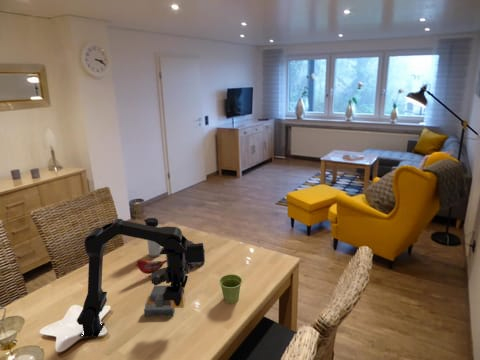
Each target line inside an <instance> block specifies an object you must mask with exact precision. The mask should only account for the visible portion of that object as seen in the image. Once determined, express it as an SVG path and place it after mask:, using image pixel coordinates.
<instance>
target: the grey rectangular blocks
mask: <svg viewBox="0 0 480 360" xmlns="http://www.w3.org/2000/svg"><path fill="white" fill-rule="evenodd" d="M170 285H171V284H169V285H168V284H167V285H153V288H152V290H151V292H150V300H151V302H152V301H153V302H155V300H156V297H157V295H158V294H163V292H164V289H165V288H166V287H167V286H170ZM175 309H176V308H171V306H163V307H156V304H145V306H144V308H143V313H144V314H143V315H144V317H173V316H174V315H175V311H176V310H175Z"/></svg>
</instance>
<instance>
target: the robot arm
mask: <svg viewBox="0 0 480 360" xmlns="http://www.w3.org/2000/svg"><path fill="white" fill-rule="evenodd" d="M118 235H120V236H126V237H131V238H135V239H140V240H146V241H147V240H150V241H153V242H156V243H157V244H159V245H160V246H161V251H160V254H161V255H165V256H166V260H167V262H166V267H165V266H164V267H161V268H160V269H158V270H156V271H154V272H153V274H152V273H151V274H152V276H151V277H150V279H151V280H150V281H151V284H152V285H153V286H159V285H161V284H162V283H165V284H169V285H170V286H167V285H166V286H167V287H166V288H165V289H164V292H163V300H164V301H168V300H173V301H174V303H175V305H176V306H179V305H180V302H181V299H182V296H183V293H184V290H183V288H182V287H186V285H187V282H188V278H189V276H188V275H189V273H190V269H191V268H189V265H188V264H189V263H196V264H198V263H203V264H204V263H205V262H206V261H205V260H206V258H205V255H206V253H205V251H206V250H205V247H204V243H203V242H198V243H194V244H188V241H189V240H188V239H187V238H186V237H185V236H184V235H183V232H182V230H181V229H180V228H179V227H177V226H169V225H168V226H161V227H160V226H159V227H152V226H148V225H146V224H142V223H137V222H132V221H128V220H124V219H122V218H118V219H117V218H116V219H115V220H114V221H111V222H108V223H106V224H105V225H102V226H101V227H94V228H93V229H92V230H91V231H90V233H89V234H88V235H87V236H86V237H85V239H84V240H83V241H84V242H83V243H84V251H85V253H86V254H87V257H88V270H87V271H88V273H87V274H88V275H87V294H86V297H85V300H84V302H83V307H82V309H81V312H80V314H79V315H78V317H77V318H76V322H77V324H78V325H80V326H81V325H82V331H84V335H83V334H82V335H83V336H86V337H85V338H92V337H93V338H97V337H99V336H100V334H101V332H102V330H103V329H102V328H104V327H105V322H101V318H100V313H102V312H103V310H104V307H105V306H106V303H107V301H108V298H107V294H108V291H104V290H103V288H102V286H103V284H102V283H103V282H102V281H103V263H104V262H103V261H104V251H105V250H106V247H107V244H108V242H109V241H110V240H112V239H113V238H114V237H116V236H118ZM183 253H184V254H185V261H186V262H187V263H188V264H185V262H184V260H183ZM100 323H101V324H102V325H101V324H100ZM103 326H104V327H103ZM100 331H101V332H100ZM99 333H100V334H99ZM98 335H99V336H98ZM87 336H88V337H87Z"/></svg>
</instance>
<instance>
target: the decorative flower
mask: <svg viewBox="0 0 480 360" xmlns="http://www.w3.org/2000/svg"><path fill="white" fill-rule="evenodd" d="M188 244H195V242H193V241H191V240H188ZM183 260H184V262H185V264H188V263H187V262H186V261H185V254H184V253H183ZM196 264H197V265H198V267H199V268H201V267H202V266H203V265H204V263H189V264H188V265H189V268H190V269H193V268H194V267H195V266H196Z"/></svg>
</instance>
